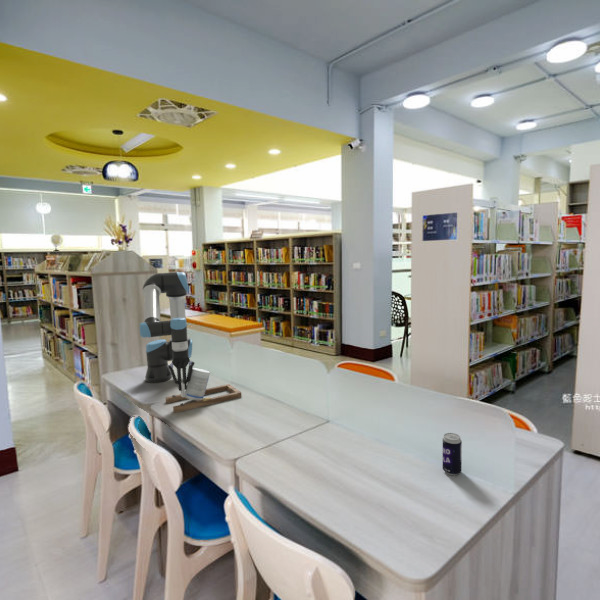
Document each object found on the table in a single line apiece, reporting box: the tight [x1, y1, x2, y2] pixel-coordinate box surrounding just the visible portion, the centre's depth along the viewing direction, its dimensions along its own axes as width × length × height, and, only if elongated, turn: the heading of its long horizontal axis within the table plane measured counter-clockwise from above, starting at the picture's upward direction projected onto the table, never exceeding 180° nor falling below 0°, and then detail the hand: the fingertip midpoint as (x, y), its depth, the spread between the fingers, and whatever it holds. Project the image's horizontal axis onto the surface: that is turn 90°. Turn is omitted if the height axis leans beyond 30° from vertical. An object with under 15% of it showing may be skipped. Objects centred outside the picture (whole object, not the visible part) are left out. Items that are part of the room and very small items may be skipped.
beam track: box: [165, 383, 243, 413], centre depth 202 cm, size 17×34×3 cm, turn 122°
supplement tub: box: [185, 367, 211, 402], centre depth 199 cm, size 10×10×15 cm
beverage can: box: [442, 432, 463, 476], centre depth 127 cm, size 6×6×12 cm
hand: (183, 396), depth 196 cm, fingers closed
